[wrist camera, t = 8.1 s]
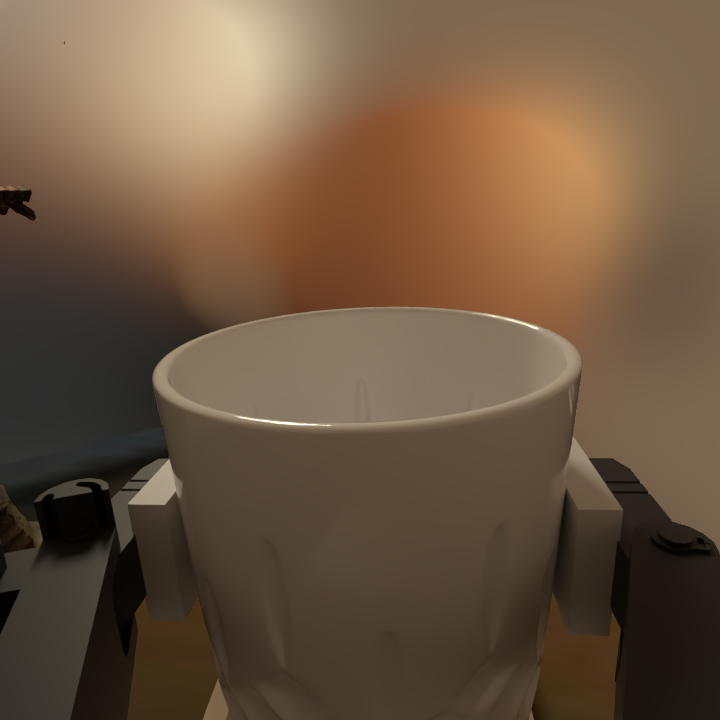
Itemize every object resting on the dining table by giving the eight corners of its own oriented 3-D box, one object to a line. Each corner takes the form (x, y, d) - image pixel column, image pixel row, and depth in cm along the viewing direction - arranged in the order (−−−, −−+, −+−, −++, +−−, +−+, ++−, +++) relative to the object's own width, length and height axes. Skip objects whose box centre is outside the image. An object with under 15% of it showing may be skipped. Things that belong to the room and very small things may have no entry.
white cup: (582, 986, 9) (650, 438, 6) (151, 894, 10) (39, 418, 7) (526, 626, 16) (544, 305, 13) (280, 602, 18) (249, 307, 15)
